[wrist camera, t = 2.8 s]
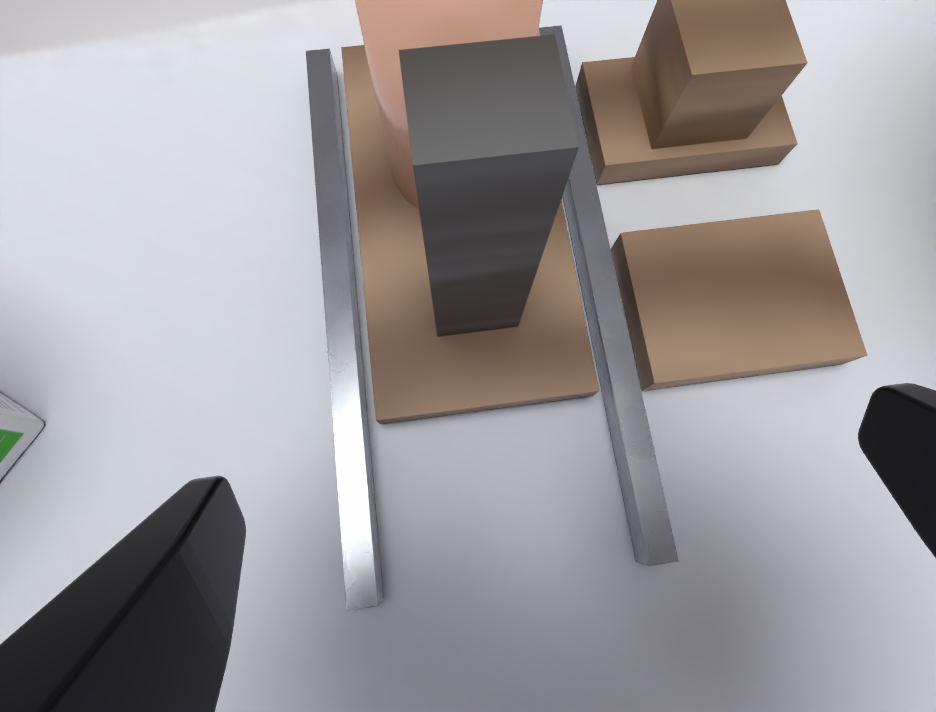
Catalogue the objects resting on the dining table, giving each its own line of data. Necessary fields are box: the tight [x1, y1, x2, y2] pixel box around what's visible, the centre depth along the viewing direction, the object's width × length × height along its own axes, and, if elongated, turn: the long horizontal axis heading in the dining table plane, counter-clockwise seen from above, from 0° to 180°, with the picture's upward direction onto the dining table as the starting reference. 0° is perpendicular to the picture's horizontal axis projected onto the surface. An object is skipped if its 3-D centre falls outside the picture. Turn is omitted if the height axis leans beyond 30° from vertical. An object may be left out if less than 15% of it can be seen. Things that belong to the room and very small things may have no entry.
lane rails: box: [306, 26, 678, 610], centre depth 21 cm, size 22×11×1 cm, turn 8°
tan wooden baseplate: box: [341, 34, 599, 424], centre depth 17 cm, size 16×8×12 cm, turn 8°
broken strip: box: [576, 57, 867, 391], centre depth 22 cm, size 14×8×1 cm, turn 8°
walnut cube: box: [631, 0, 807, 149], centre depth 21 cm, size 4×4×4 cm
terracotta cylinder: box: [355, 0, 543, 209], centre depth 17 cm, size 5×5×9 cm
